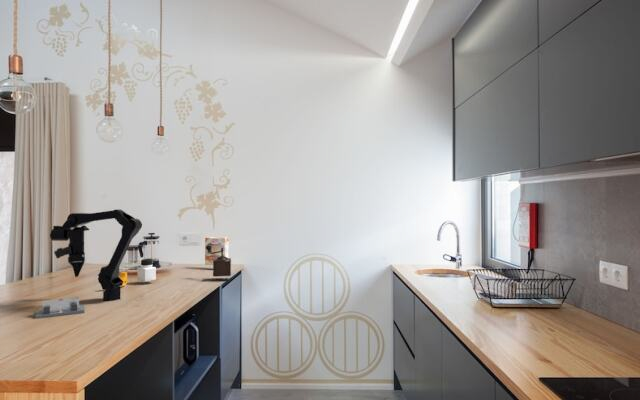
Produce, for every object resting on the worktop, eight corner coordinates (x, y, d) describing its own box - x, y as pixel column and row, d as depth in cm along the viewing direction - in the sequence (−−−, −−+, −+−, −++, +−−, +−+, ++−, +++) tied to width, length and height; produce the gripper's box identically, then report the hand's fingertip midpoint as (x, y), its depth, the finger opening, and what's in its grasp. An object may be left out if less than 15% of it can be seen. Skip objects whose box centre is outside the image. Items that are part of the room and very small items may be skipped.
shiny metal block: (77, 306, 163) (77, 296, 163) (78, 308, 159) (78, 298, 159) (42, 311, 155) (42, 300, 155) (42, 313, 152) (42, 302, 152)
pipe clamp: (119, 284, 214) (119, 272, 214) (127, 284, 214) (127, 272, 214) (105, 288, 202) (105, 276, 202) (114, 288, 202) (114, 276, 202)
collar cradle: (84, 307, 166) (84, 298, 166) (84, 312, 157) (84, 303, 157) (37, 312, 158) (37, 303, 158) (35, 318, 149) (35, 309, 149)
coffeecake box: (204, 265, 278) (204, 237, 278) (209, 263, 285) (209, 236, 285) (224, 265, 276) (224, 237, 276) (228, 264, 283) (228, 236, 283)
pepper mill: (231, 272, 247) (231, 244, 247) (230, 276, 236) (230, 246, 236) (205, 273, 244) (205, 244, 244) (203, 276, 233) (203, 246, 234)
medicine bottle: (156, 279, 225) (156, 258, 225) (144, 281, 219) (144, 260, 219) (148, 278, 229) (148, 257, 229) (137, 280, 223) (137, 259, 223)
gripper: (56, 239, 183) (56, 273, 183) (54, 243, 167) (53, 280, 167) (84, 238, 189) (84, 271, 188) (84, 242, 173) (84, 277, 172)
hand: (76, 275), depth 179 cm, fingers open, 9 cm apart
